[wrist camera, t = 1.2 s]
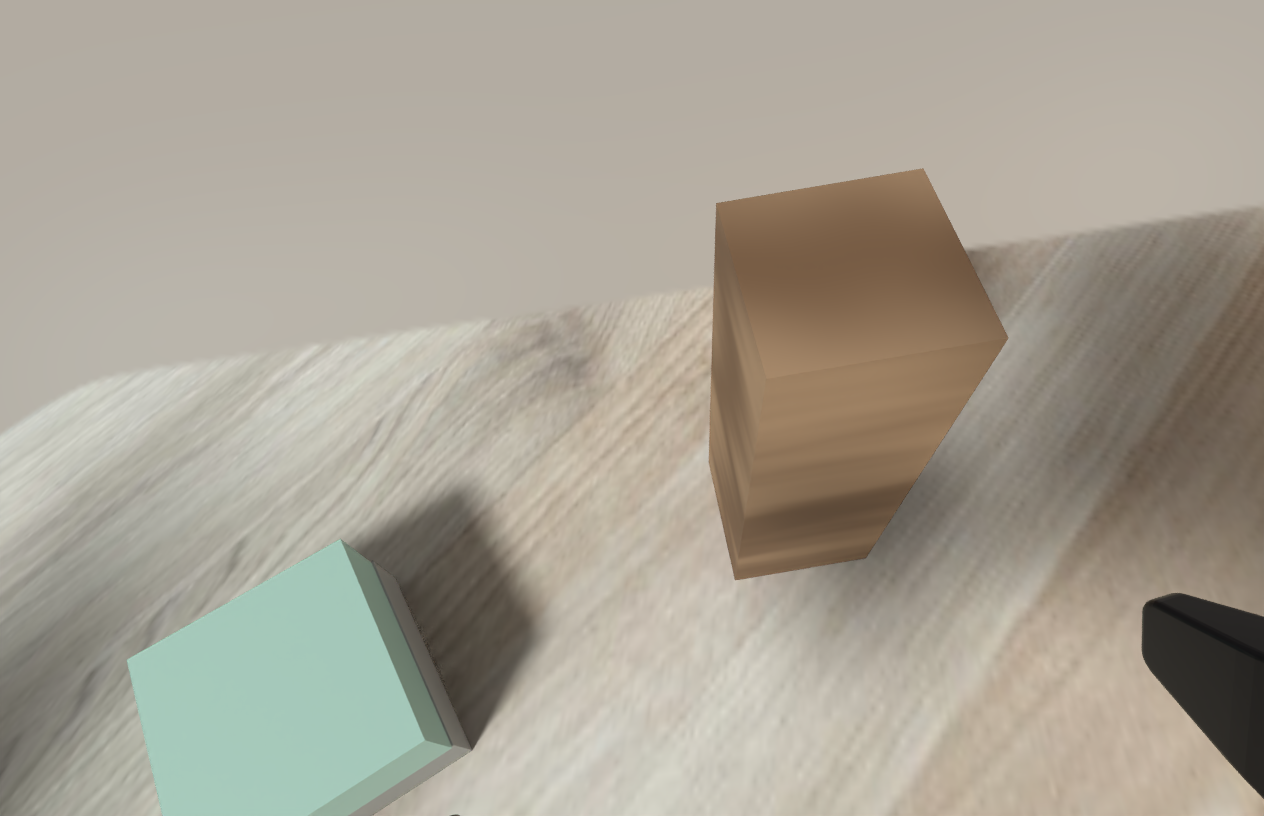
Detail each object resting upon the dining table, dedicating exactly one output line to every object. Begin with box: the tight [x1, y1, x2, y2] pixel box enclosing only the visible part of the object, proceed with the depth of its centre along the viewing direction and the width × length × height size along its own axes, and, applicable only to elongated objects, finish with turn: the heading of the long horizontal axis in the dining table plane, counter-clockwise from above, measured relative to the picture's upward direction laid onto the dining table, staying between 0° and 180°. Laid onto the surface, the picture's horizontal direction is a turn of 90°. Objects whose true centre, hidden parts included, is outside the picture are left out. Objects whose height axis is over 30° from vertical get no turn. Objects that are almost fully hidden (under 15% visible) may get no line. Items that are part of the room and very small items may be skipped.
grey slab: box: [348, 561, 472, 816], centre depth 23 cm, size 6×6×2 cm
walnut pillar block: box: [709, 169, 1008, 580], centre depth 20 cm, size 4×4×13 cm
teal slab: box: [127, 539, 452, 816], centre depth 21 cm, size 6×6×2 cm
